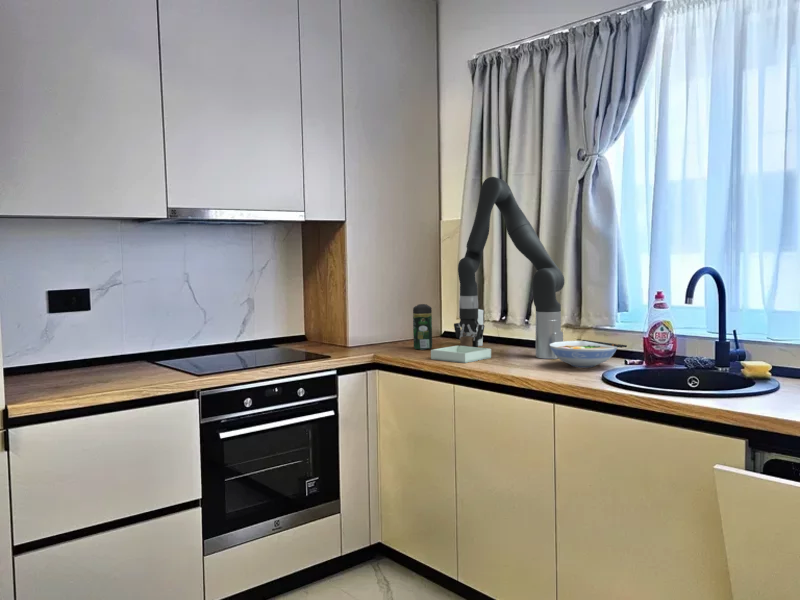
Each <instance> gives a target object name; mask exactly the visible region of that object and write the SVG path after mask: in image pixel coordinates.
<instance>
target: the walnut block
mask: <svg viewBox="0 0 800 600" xmlns="http://www.w3.org/2000/svg"><path fill="white" fill-rule="evenodd" d="M459 341H460V342H459V343H460V345H459V346H468V347H473V339H472V336H463V337H460V339H459Z"/></svg>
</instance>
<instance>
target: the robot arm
mask: <svg viewBox="0 0 800 600" xmlns="http://www.w3.org/2000/svg"><path fill="white" fill-rule="evenodd" d="M480 187H481V188H480V192H479V197H478V203H477V208H476V213H475V217H474V221H473V224H472V228H471V230H470V233H469V236H468V239H467V242H466V246H465V247H466V251H465V255H464V257H462V258H461V259H459V262H458V265H457V273H458V280H459V310H458V311H459V316H458V317H459V319H460V320H459V322H455V323H453V327H454V333H455V337H456V339H459V340H460V337H463V336H466V335H467V334H468V332H469V333H470V335H471V336H472V339H473V347H479V346H478V340H479V339H482V337H483V336H484V331H485V324H483V325H481V324H479V323H478V309H479V297H478V296H479V295H478V283H477V281H476V272H477V271H478V270H479V268H480V265H481V262H482V261H481V260H482V257H483V251H484V250H485V246H486V243H487V241H488V238H489V235H490V228H491V227H490V225H491V224H490V223H491V214H492V211H493V208H494V206H496V207H497V209H498V210H499V211H500V214H501V215H502V217H503V221H504V224H505V230H506V232H507V235H508V237H509V239H510V240H511V242H512V244H513V245H514V246H515V248H516V250H518V251H519V252H520V253H521V254H522V255H523V256H524V257H525V258H526V259H527V260H528V261H529V262H530V263H531V264H532V265H533V267H534V268H535V270H536V272H535V273H534V275H533V277H532V298H533V301H532V302H533V304H534V306H535V358H537V359H551V360H553V359H555V360H556V359H558V358H557V356H556V355H555V354H554V353H553V351H552V349H551V347H550V344H551V343H554V342H563V341H564V332H563V331H562V305H561V304H560V302H559V301H558V300H557V296H556V293H558V292H560V291H561V290H563V288H564V287H565V286H564V285H565V277H564V273H563V272H562V271H561V269H560V268H559V267H558V266H557V264H556V263H555V261H554V260H553V259H552V258H551V256H550V255H549V253H548V251H547V250H546V248H545V247H544V244H543V243H542V242H541V240H540V238H539V236H538V234H537V232H536V231H535V228H534V227H533V225H532V224H531V223H530V221H529V219H528V217H527V216H526V215H525V213H524V212H523V211H522V209H521V208H520V206H519V204H518V202H517V201H516V198H515V195H514V194H513V192H512V190H511V187H510V185H509V184H508V183H507V182H506V180H503V179H500V178H498V177H496V176H490V177H487V178H486V179H484V181H483V182H482V184H481V186H480ZM477 327H478V328H477ZM461 328H462V329H461ZM476 328H477V329H478V331H477V329H476ZM473 332H474V333H473ZM483 338H484V337H483Z"/></svg>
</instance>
